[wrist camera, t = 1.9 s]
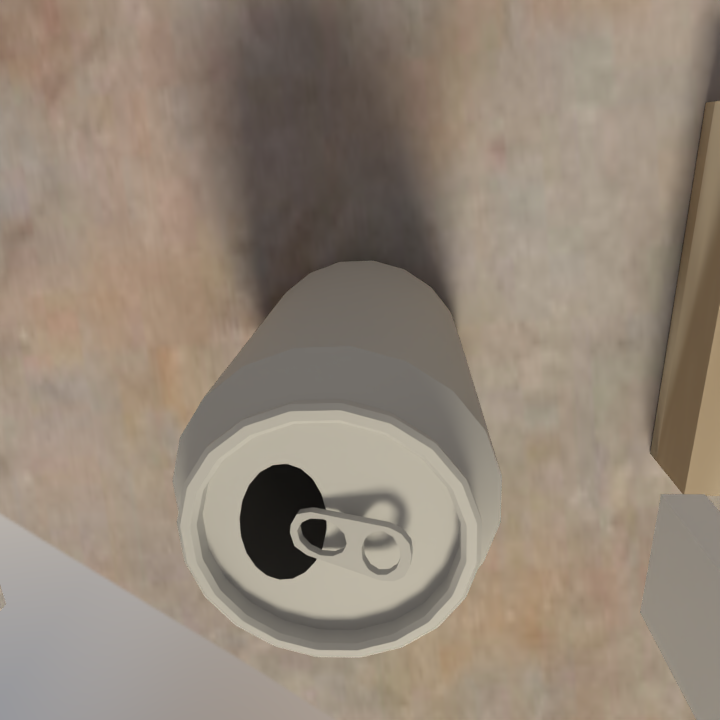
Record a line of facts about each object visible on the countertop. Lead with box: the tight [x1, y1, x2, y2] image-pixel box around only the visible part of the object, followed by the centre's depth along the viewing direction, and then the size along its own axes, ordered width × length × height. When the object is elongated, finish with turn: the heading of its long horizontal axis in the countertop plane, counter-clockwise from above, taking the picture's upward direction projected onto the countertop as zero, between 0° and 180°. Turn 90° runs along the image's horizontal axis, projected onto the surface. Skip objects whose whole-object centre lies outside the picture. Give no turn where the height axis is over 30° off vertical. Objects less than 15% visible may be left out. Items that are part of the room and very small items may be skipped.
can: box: [173, 260, 502, 658], centre depth 17 cm, size 8×8×12 cm
